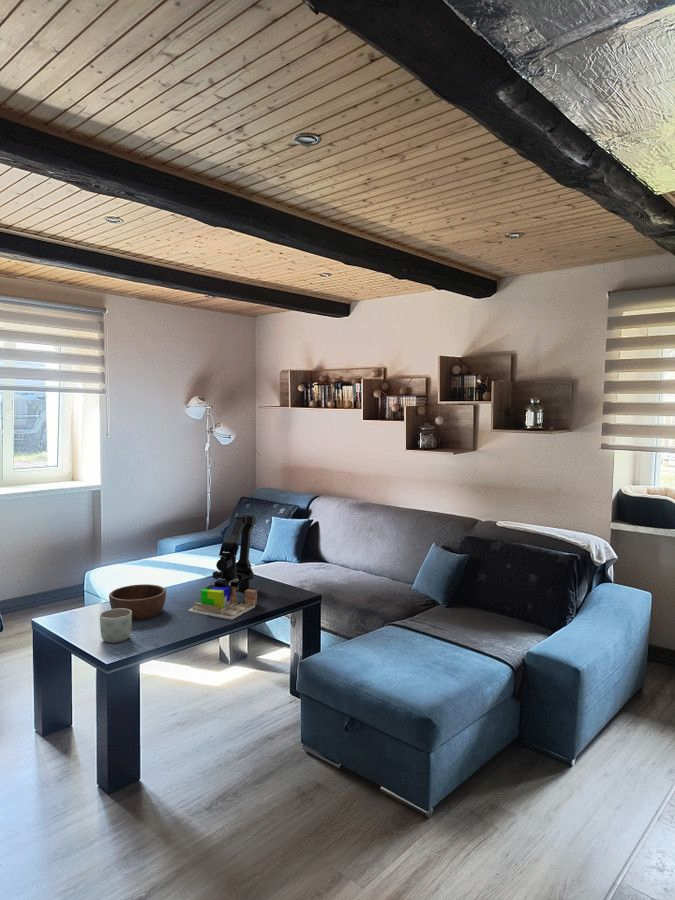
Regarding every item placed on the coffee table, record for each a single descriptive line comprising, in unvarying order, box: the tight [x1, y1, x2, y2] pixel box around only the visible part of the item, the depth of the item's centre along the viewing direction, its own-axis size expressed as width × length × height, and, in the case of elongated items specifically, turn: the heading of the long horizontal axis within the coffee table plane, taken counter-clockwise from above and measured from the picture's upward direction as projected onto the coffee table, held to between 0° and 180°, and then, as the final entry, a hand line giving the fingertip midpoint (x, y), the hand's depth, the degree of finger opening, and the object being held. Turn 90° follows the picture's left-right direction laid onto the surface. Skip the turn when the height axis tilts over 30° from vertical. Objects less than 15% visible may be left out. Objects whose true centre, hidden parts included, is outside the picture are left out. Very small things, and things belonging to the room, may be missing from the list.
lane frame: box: [188, 602, 256, 620], centre depth 287 cm, size 19×24×1 cm
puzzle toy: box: [200, 584, 230, 610], centre depth 286 cm, size 10×10×10 cm
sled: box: [192, 587, 239, 614], centre depth 290 cm, size 21×15×7 cm
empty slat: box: [223, 589, 258, 617], centre depth 285 cm, size 21×5×7 cm, turn 156°
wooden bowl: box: [108, 583, 167, 621], centre depth 280 cm, size 25×25×10 cm
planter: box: [99, 608, 133, 644], centre depth 248 cm, size 12×12×11 cm
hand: (230, 597), depth 298 cm, fingers closed on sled, 3 cm apart
